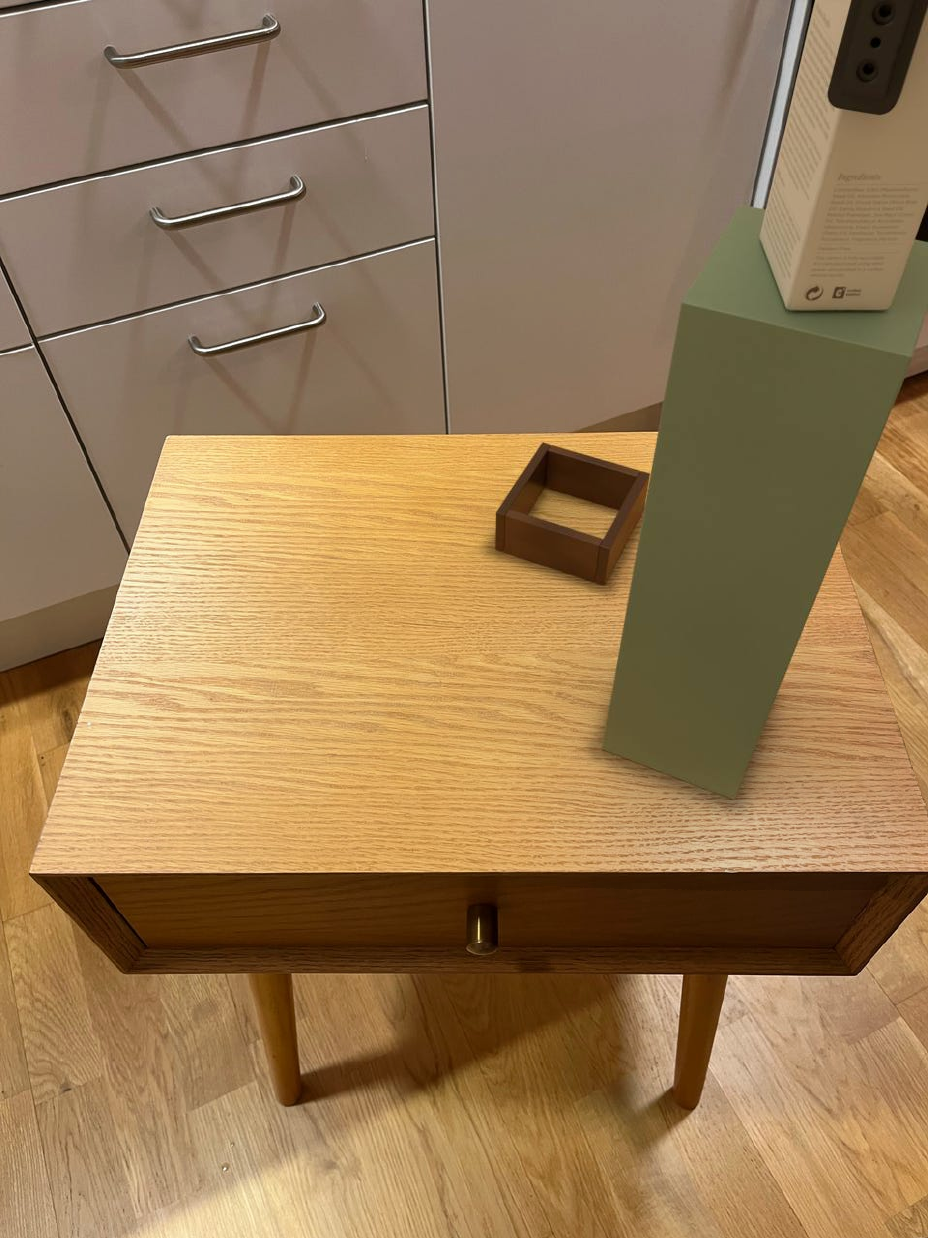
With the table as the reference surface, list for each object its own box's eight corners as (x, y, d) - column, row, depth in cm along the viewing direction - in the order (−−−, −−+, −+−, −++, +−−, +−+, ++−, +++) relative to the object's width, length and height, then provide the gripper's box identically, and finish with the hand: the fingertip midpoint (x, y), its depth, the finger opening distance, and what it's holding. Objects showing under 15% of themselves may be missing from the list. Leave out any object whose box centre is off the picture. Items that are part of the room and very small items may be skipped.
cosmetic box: (893, 313, 38) (1023, -44, 29) (783, 314, 38) (879, -42, 29) (854, 236, 42) (958, -101, 33) (755, 236, 42) (831, -99, 33)
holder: (643, 510, 78) (650, 473, 75) (604, 585, 73) (610, 549, 70) (539, 478, 81) (542, 441, 78) (494, 549, 76) (495, 512, 73)
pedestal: (769, 696, 66) (947, 244, 41) (734, 800, 61) (913, 356, 36) (645, 653, 69) (740, 203, 44) (601, 749, 64) (680, 301, 39)
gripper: (1348, -823, 16) (966, 172, 29) (1290, -719, 24) (1014, 16, 37) (885, -778, 18) (719, 128, 31) (978, -697, 27) (818, -10, 39)
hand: (881, 65), depth 34 cm, fingers closed on cosmetic box, 7 cm apart
